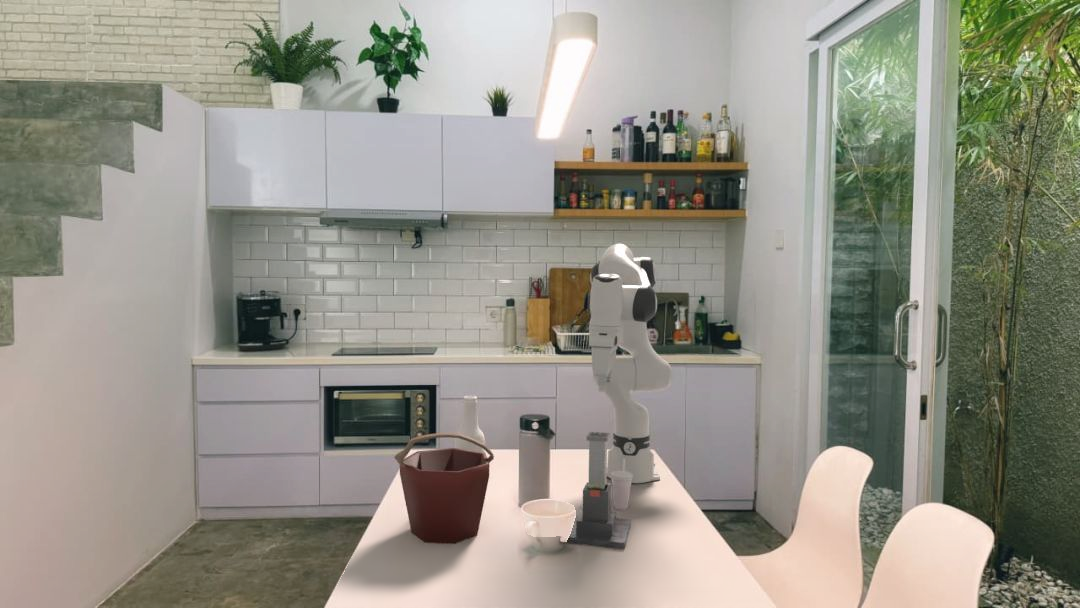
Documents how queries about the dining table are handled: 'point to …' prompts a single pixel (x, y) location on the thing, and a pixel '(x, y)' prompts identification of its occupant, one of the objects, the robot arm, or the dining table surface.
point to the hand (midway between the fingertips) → (604, 387)
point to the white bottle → (470, 426)
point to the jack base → (599, 522)
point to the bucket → (444, 489)
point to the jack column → (597, 460)
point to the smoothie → (621, 487)
